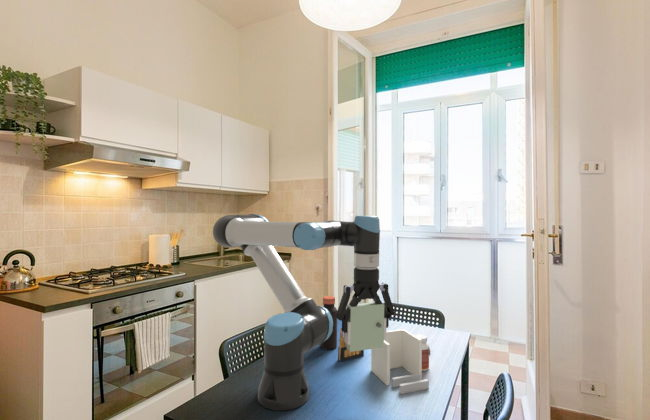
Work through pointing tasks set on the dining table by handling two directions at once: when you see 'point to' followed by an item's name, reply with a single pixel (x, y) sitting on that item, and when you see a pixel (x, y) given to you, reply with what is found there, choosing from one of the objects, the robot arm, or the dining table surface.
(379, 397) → the dining table surface
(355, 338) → the door
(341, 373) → the dining table surface
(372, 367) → the cabinet
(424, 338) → the pill bottle
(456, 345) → the dining table surface
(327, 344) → the vinegar
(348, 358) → the ammunition clip
